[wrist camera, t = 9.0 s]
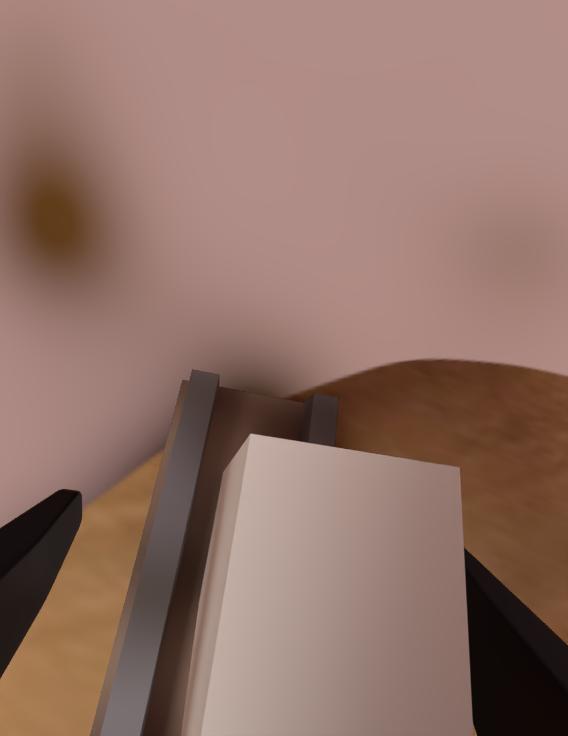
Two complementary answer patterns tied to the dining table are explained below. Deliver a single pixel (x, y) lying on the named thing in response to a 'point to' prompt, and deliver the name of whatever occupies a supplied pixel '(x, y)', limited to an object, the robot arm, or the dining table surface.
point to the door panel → (332, 598)
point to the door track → (187, 547)
